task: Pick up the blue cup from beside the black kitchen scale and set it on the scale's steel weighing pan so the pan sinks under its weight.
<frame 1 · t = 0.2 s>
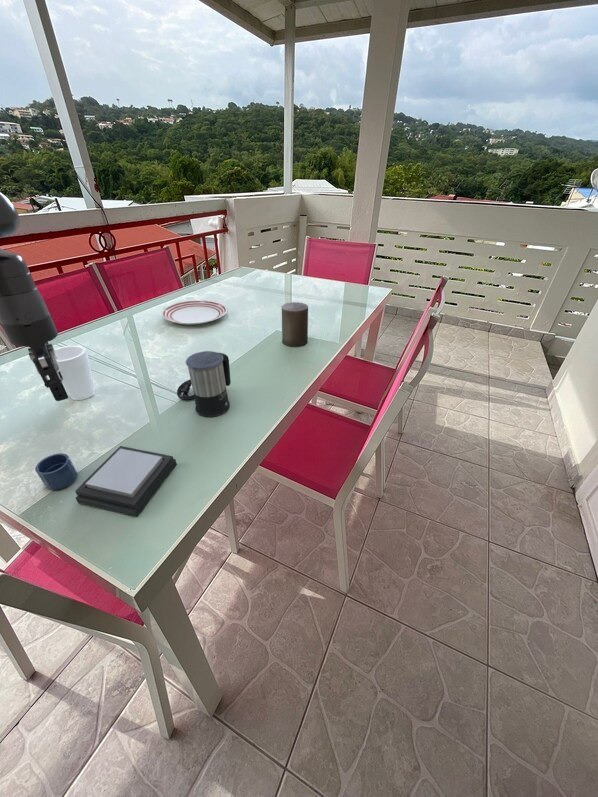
hand: (60, 389, 69), 15 cm above the table, tool pointing down, fingers open, 8 cm apart
foam cup: (83, 394, 95), on the table
dinner plate: (196, 317, 145), on the table
scale: (130, 482, 68), on the table
pillar candle: (294, 342, 125), on the table
blue cup: (62, 480, 68), on the table
milk frother: (203, 402, 92), on the table
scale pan: (126, 471, 66), point 3 cm above the table, slide at 0.0 cm
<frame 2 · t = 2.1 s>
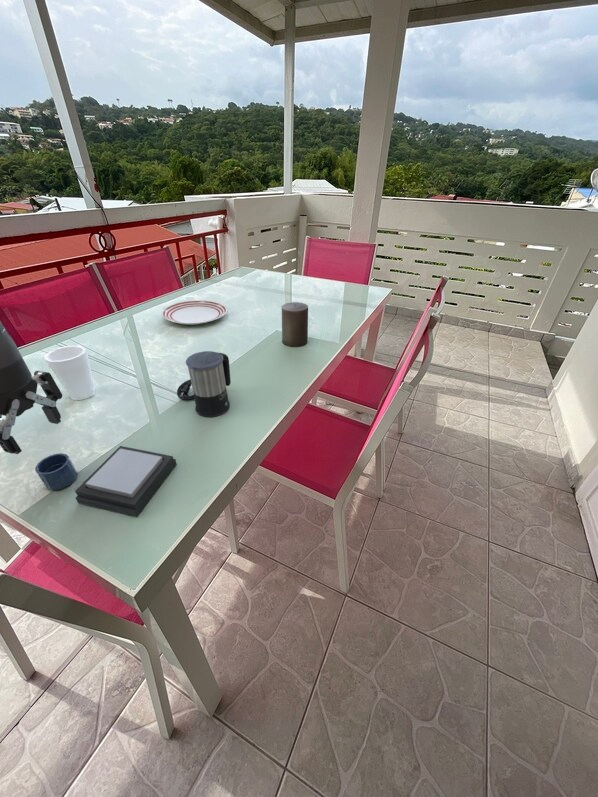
hand: (36, 436, 61), 12 cm above the table, tool pointing down, fingers open, 8 cm apart
nothing on the table moved.
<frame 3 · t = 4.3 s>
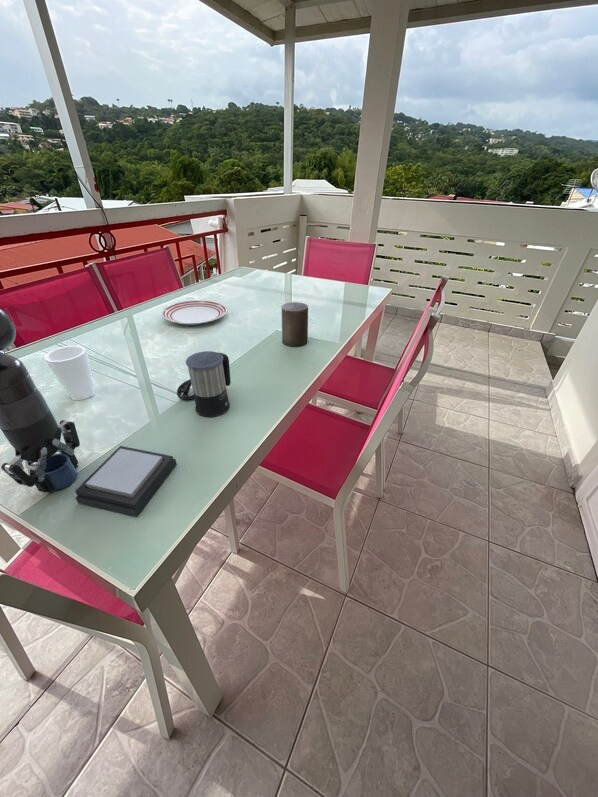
hand: (61, 478, 68), 1 cm above the table, tool pointing down, fingers closed on blue cup, 5 cm apart
blue cup: (62, 480, 68), on the table, touching gripper
everything else where it was.
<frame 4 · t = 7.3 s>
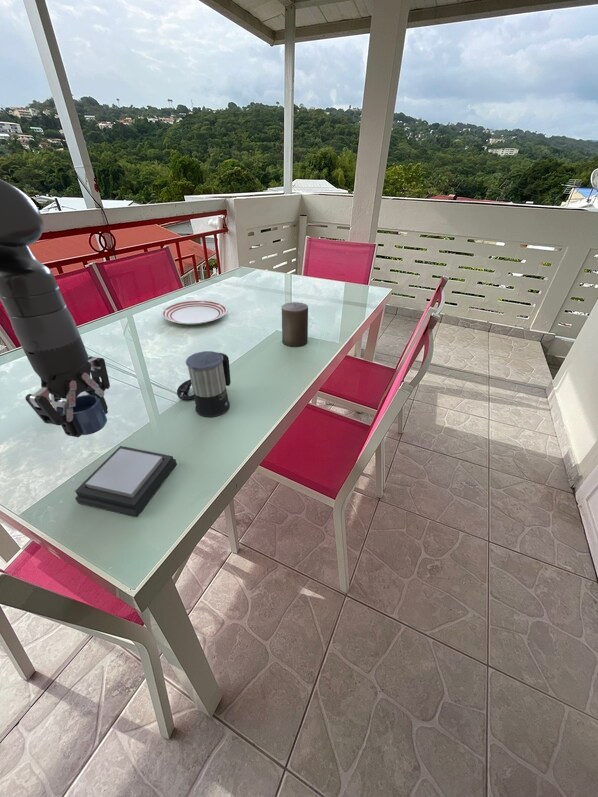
hand: (89, 423, 59), 15 cm above the table, tool pointing down, fingers closed on blue cup, 5 cm apart
blue cup: (90, 426, 60), point 15 cm above the table, touching gripper
everything else where it was.
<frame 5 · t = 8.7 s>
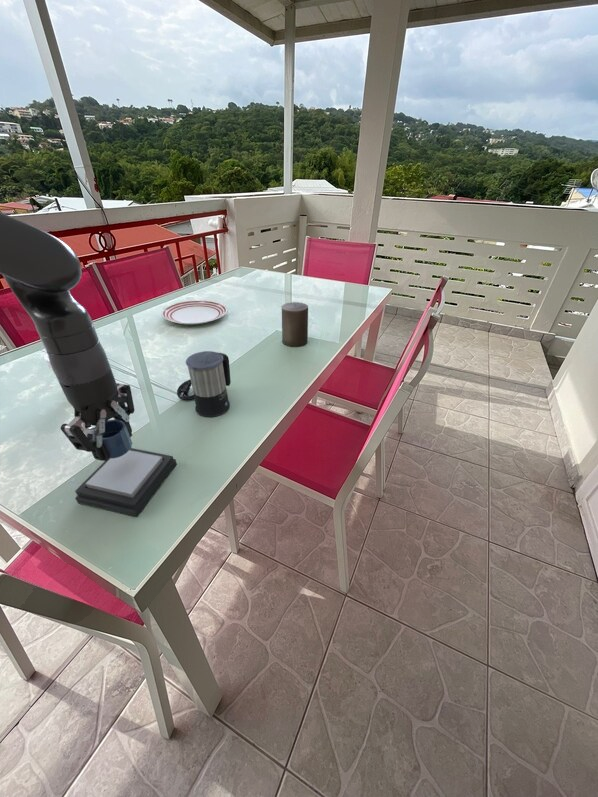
hand: (115, 447, 62), 10 cm above the table, tool pointing down, fingers closed on blue cup, 5 cm apart
blue cup: (116, 449, 63), point 9 cm above the table, touching gripper
everything else where it was.
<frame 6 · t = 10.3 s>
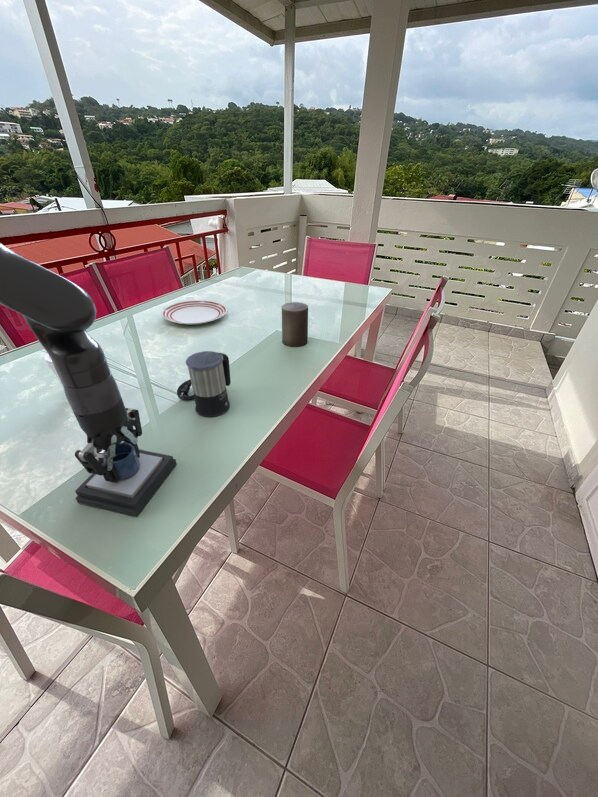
hand: (124, 468, 66), 4 cm above the table, tool pointing down, fingers closed on blue cup, 5 cm apart
blue cup: (125, 470, 66), point 4 cm above the table, touching gripper, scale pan
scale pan: (126, 472, 66), point 3 cm above the table, slide at -0.3 cm, touching blue cup
everything else where it was.
when the fingers open (4 cm above the table, at t = 10.6 s): blue cup stays where it is, resting on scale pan.
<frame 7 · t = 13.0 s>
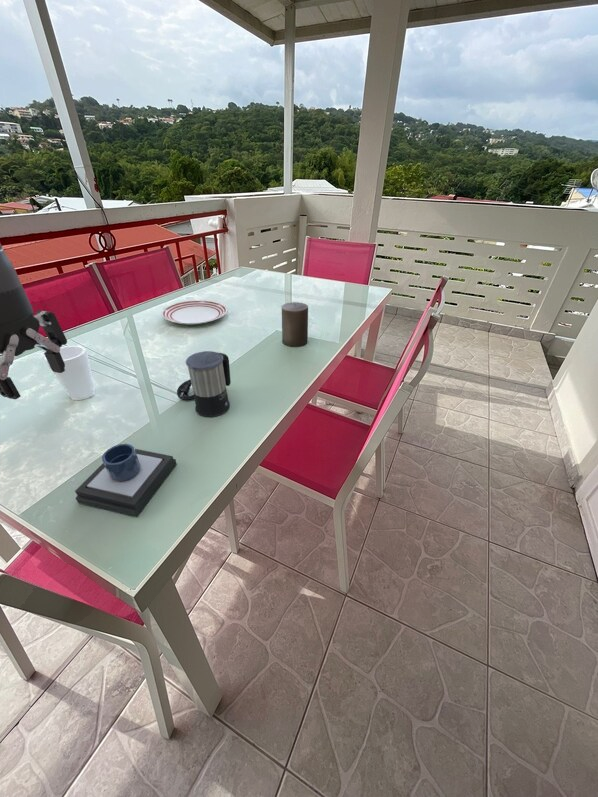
hand: (37, 383, 55), 23 cm above the table, tool pointing down, fingers open, 8 cm apart
blue cup: (126, 471, 66), point 3 cm above the table, touching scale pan
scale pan: (127, 474, 67), point 3 cm above the table, slide at -0.7 cm, touching blue cup
everything else where it was.
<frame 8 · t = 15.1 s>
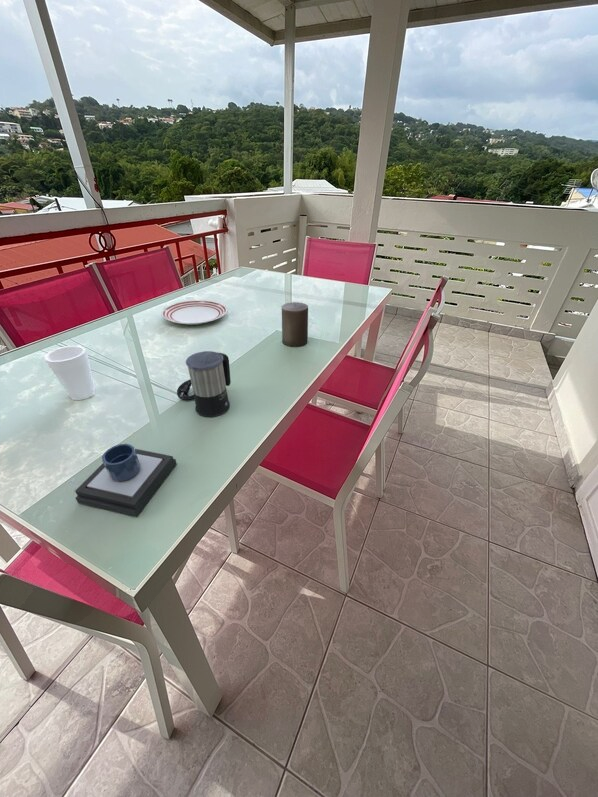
nothing on the table moved.
at the end: blue cup inside the target area on the scale (0.0 cm from its centre), point 3.2 cm above the scale's base; blue cup tilted 0°; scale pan slide at -0.7 cm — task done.
